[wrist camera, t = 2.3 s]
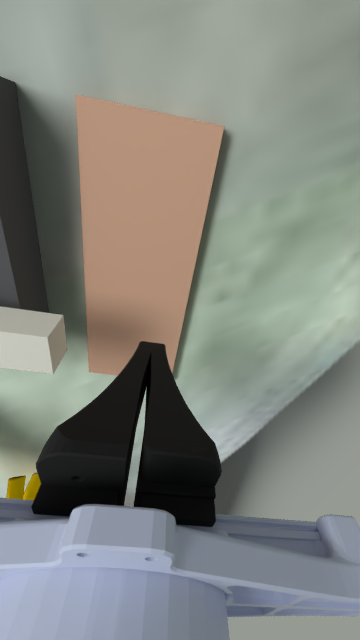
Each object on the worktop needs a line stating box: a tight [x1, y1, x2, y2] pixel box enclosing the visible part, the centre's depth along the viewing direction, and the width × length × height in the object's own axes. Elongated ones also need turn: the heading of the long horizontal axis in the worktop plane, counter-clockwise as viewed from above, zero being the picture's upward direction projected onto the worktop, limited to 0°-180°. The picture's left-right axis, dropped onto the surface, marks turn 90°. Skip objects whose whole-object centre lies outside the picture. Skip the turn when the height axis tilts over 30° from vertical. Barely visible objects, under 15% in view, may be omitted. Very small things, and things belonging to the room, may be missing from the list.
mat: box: [76, 95, 224, 375], centre depth 17 cm, size 18×7×1 cm, turn 171°
